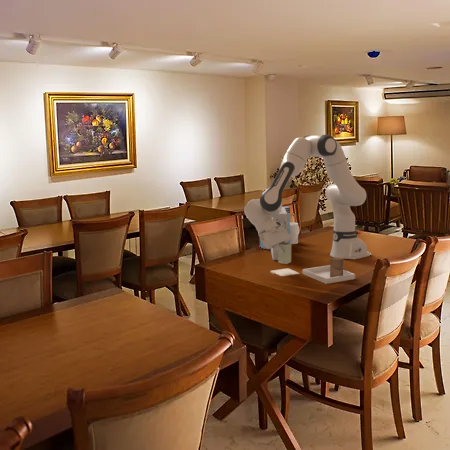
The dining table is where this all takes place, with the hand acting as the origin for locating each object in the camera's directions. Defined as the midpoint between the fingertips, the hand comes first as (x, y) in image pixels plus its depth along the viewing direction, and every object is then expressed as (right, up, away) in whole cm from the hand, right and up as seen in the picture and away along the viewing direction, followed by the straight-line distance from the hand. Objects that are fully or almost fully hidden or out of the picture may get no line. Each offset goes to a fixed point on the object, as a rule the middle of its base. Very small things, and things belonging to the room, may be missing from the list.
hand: (286, 251), depth 237 cm
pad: (0, -11, +2) cm, 11 cm away
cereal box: (+1, -4, +39) cm, 39 cm away
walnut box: (+22, -12, -7) cm, 26 cm away
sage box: (0, -5, +1) cm, 5 cm away
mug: (+13, +2, +71) cm, 72 cm away
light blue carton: (+1, 0, +61) cm, 61 cm away
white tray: (+19, -12, -5) cm, 23 cm away
